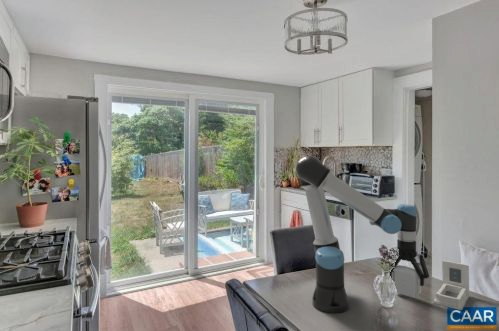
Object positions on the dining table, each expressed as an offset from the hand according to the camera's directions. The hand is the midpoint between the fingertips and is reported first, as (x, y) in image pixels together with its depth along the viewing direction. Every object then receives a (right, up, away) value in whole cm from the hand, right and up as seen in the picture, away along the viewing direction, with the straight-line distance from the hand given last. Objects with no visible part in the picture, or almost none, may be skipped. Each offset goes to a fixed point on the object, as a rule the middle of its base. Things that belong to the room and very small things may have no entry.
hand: (406, 289), depth 137 cm
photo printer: (0, -3, 0) cm, 3 cm away
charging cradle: (+18, -3, -4) cm, 18 cm away
